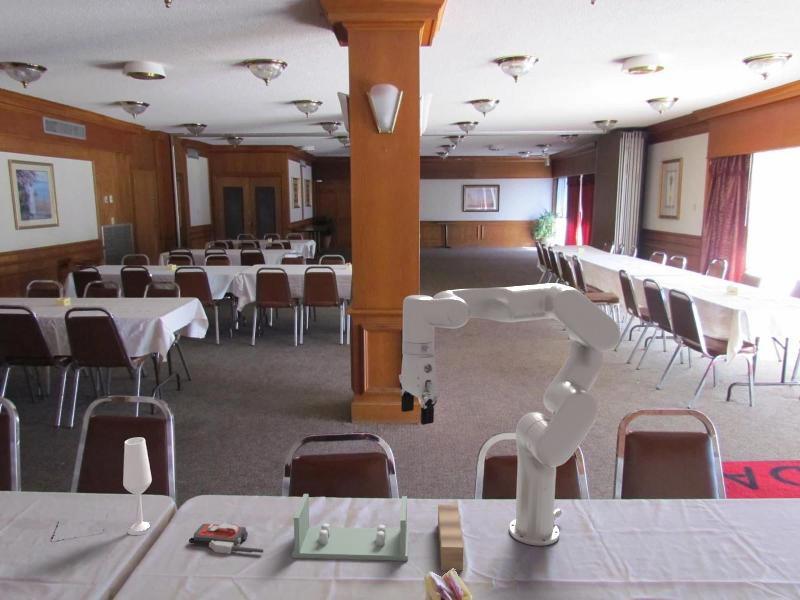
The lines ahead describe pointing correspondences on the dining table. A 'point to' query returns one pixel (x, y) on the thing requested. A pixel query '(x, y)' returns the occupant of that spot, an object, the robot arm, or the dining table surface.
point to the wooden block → (450, 537)
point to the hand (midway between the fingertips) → (417, 417)
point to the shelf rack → (349, 539)
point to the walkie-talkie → (222, 538)
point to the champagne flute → (137, 475)
